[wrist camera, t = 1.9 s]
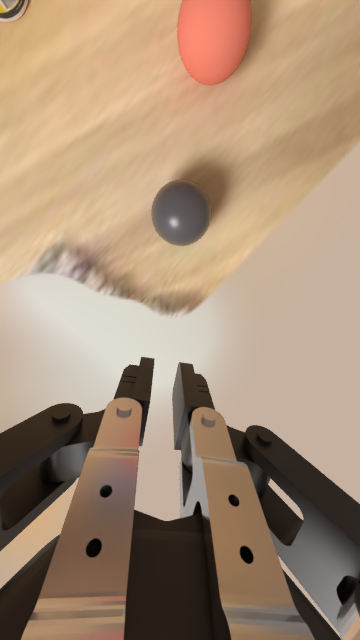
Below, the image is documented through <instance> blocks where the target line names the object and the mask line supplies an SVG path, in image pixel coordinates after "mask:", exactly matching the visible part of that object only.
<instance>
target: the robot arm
mask: <svg viewBox="0 0 360 640" xmlns="http://www.w3.org/2000/svg"><path fill="white" fill-rule="evenodd" d="M153 368H154V359H153V358H146V357H141V361H140V365H139V366H137V365H129V366H128V367H126V368H125V369H124V371H123V374H122V377H121V380H120V382H119V386H118V388H117V391H116V394H115V397H114V400H112V401H111V402H110V403H109V404H108V405H107V407H106V409H104V410H102V411H99V412H95V413H88V414H83V411H82V410H81V408H80V407H79V406H77V405H74V404H70V403H62V404H57V405H54V406H51V407H49V408H47V409H45V410H44V411H42V412H40V413H38V414H36V415H34V416H32V417H30V418H28V419H27V420H25V421H23V422H21V423H19V424H17V425H15V426H14V427H12V428H10V429H8V430H6V431H4V432H2V433H0V551H1V550H2V549H3V548H4V547H5V546H6V545H8V544H9V543H10V542H11V541H12V540H13V539H14V538H15V537H16V536H17V535H18V534H19V533H21V532H22V531H23V530H24V529H25V528H26V527H27V526H28V525H29V524H30V523H31V522H32V521H33V520H35V519H36V518H37V516H39V515H40V514H41V513H42V512H43V511H44V510H45V509H46V508H48V507H49V506H50V505H51V504H52V503H53V502H54V501H55V500H56V499H57V498H58V497H59V496H60V495H62V493H63V492H65V491H66V490H67V489H68V488H69V487H70V486H71V485H72V484H73V483H74V482H75V480H76V479H77V478H79V481H78V483H77V486H76V489H75V492H74V495H73V498H72V501H71V504H70V507H69V510H68V513H67V516H66V519H65V522H64V525H63V528H62V531H61V534H60V535H58V536H57V537H56V538H54V539H53V540H52V541H51V542H49V543H48V544H47V545H45V547H44V548H42V549H41V550H40V551H39V552H38V553H37V554H36V555H35V556H34V557H33V558H32V559H31V560H30V561H29V562H28V563H27V564H26V565H24V567H22V568H21V569H20V570H19V571H18V572H17V573H16V574H15V575H14V576H13V577H12V578H11V579H10V580H9V581H8V582H7V583H6V584H5V585H4V586H3V587H2V588H1V589H0V640H360V504H359V503H358V502H356V501H355V500H354V499H353V498H352V497H350V496H349V495H348V494H347V493H346V492H344V491H343V490H342V489H341V488H339V487H338V486H337V485H336V484H335V483H333V482H332V481H331V480H330V479H328V478H327V477H326V476H325V475H324V474H322V473H321V472H320V471H319V470H318V469H317V468H315V467H314V466H313V465H312V464H311V463H309V462H308V461H307V460H306V459H304V458H303V457H302V456H301V455H299V454H298V453H297V452H296V451H295V450H294V449H292V448H291V447H290V446H289V445H288V444H286V443H285V442H284V441H283V440H282V439H280V438H279V437H278V436H277V435H275V434H274V433H273V432H272V431H270V430H268V429H267V428H264V427H262V426H257V425H253V426H249V427H248V428H247V430H246V432H242V431H239V430H236V429H234V428H231V427H229V426H227V425H226V423H225V420H224V418H223V416H222V415H221V414H220V413H218V412H217V411H215V408H214V405H213V402H212V398H211V395H210V393H209V388H208V385H207V382H206V380H205V379H204V377H203V376H202V375H201V374H195V373H194V369H193V365H192V364H188V363H181V362H180V363H179V364H178V368H177V373H176V378H175V383H174V387H173V398H172V400H173V424H174V449H175V450H181V453H182V457H181V461H180V465H179V475H180V519H176V520H172V521H163V520H160V519H157V518H155V517H152V516H149V515H147V514H144V513H142V512H139V511H136V510H134V504H135V494H136V483H137V472H138V461H139V451H138V448H139V446H142V443H143V438H144V432H145V426H146V421H147V415H148V409H149V404H150V397H151V387H152V378H153ZM270 479H272V480H273V481H274V482H275V483H276V484H277V485H278V486H279V487H280V488H281V489H282V490H283V491H284V492H285V493H286V494H287V495H288V496H289V497H290V498H291V499H292V500H293V501H294V502H295V503H296V504H297V505H298V507H299V508H300V510H301V512H302V514H303V517H304V521H303V520H302V519H300V518H299V517H298V516H297V515H296V514H295V513H294V512H293V511H292V509H290V507H288V505H287V504H286V503H285V502H284V501H283V500H282V499H281V498H280V497H279V496H278V495H277V494H276V493H275V492H274V491H273V490H272V488H270V486H269V485H268V483H269V481H270ZM277 554H278V555H277ZM278 556H279V557H280V558H281V560H282V561H283V562H284V563H285V564H286V566H287V567H288V568H289V570H290V571H291V572H292V574H293V575H294V576H295V577H296V579H297V580H298V581H299V582H300V584H301V585H302V586H303V588H304V589H305V590H306V591H307V593H308V594H309V595H310V596H311V598H312V599H313V600H314V601H315V603H316V604H317V605H318V607H319V608H320V609H321V610H322V612H323V613H324V614H325V616H326V617H327V618H328V619H329V621H330V622H331V623H332V625H333V626H334V627H335V628H336V630H337V631H338V632H339V634H340V637H339V636H338V635H337V634H336V632H335V631H334V630H333V629H332V628H331V626H330V625H329V624H328V623H327V622H326V620H325V619H324V618H323V617H322V616H321V614H320V613H319V612H318V611H317V610H316V609H315V607H314V606H313V605H312V604H311V603H310V601H309V600H308V599H307V598H306V597H305V595H304V594H303V593H302V592H301V591H300V589H299V588H298V587H297V586H296V585H295V583H294V582H293V581H292V580H291V579H290V577H289V576H288V575H287V574H286V573H285V572H284V570H283V569H282V567H281V564H280V561H279V558H278Z"/></svg>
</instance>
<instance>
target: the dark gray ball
mask: <svg viewBox="0 0 360 640" xmlns="http://www.w3.org/2000/svg"><path fill="white" fill-rule="evenodd" d="M210 220H211V205H210V201H209V199H208V196H207V195H206V193H205V192H204V190H203V189H202V188H201V187H200V186H198V185H197V184H196V183H194V182H191V181H188V180H175V181H172V182H169V183H168V184H166V185H165V186H163V187H162V188H161V189H160V190H159V192H158V193H157V195H156V197H155V199H154V201H153V205H152V221H153V224H154V227H155V229H156V231H157V232H158V234H159V235H160V236H161V237H162V238H163V239H164V240H165V241H167V242H168V243H170V244H173V245H177V246H186V245H190V244H192V243H194V242H196V241H198V240H199V239H200V238H201V237H202V236H203V235H204V234H205V232H206V231H207V229H208V227H209V224H210Z"/></svg>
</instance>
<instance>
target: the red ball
mask: <svg viewBox="0 0 360 640" xmlns="http://www.w3.org/2000/svg"><path fill="white" fill-rule="evenodd" d="M251 14H252V13H251V4H250V0H182V3H181V7H180V11H179V17H178V25H177V38H178V46H179V52H180V56H181V59H182V61H183V64H184V66H185V68H186V70H187V71H188V73H189V74H190V75H191V76H192V77H193V78H194V79H195V80H196V81H198V82H199V83H202V84H205V85H215V84H218V83H221V82H223V81H224V80H226V79H227V78H228V77H229V76H231V75H232V73H233V72H234V71H235V70H236V68H237V67H238V66H239V64H240V62H241V60H242V58H243V56H244V54H245V51H246V48H247V45H248V42H249V37H250V32H251Z"/></svg>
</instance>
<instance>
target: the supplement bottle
mask: <svg viewBox="0 0 360 640" xmlns="http://www.w3.org/2000/svg"><path fill="white" fill-rule="evenodd" d="M27 3H28V0H0V21H3V22H11V21H15V20H17V19H19V18H20V17H21V16H22V15H23V13H24V12H25V10H26V7H27Z"/></svg>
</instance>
